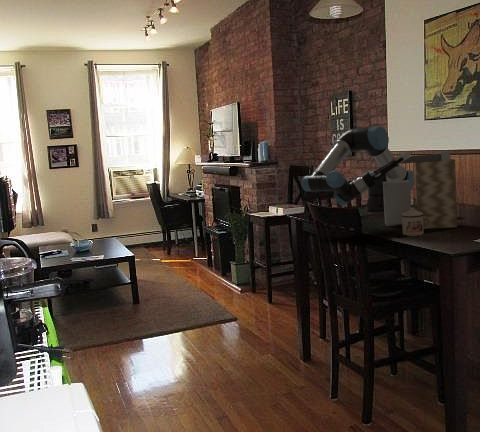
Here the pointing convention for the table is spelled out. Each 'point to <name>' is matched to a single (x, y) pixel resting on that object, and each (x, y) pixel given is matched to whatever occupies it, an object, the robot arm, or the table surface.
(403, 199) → the block
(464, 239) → the table surface
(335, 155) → the robot arm
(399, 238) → the table surface
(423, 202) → the wood grain block
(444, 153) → the brown bar
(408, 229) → the teacup with lid
